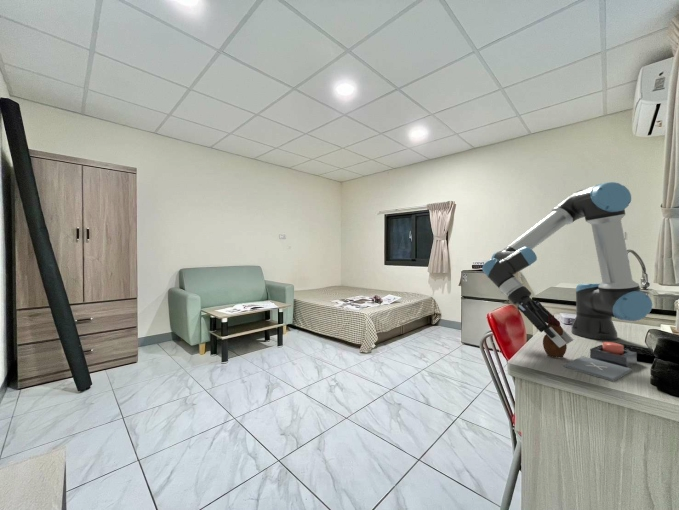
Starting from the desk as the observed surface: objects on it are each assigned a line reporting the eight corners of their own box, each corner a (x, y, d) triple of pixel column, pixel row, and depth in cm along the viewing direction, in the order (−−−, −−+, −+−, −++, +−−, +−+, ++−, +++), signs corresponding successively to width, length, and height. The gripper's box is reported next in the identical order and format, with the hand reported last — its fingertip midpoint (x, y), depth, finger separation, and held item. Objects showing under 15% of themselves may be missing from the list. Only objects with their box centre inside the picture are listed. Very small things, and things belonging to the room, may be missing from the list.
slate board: (582, 358, 96) (582, 356, 96) (631, 371, 86) (631, 368, 86) (563, 366, 89) (563, 363, 89) (613, 381, 79) (613, 378, 79)
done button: (606, 349, 97) (606, 341, 97) (626, 354, 93) (626, 345, 93) (600, 352, 95) (600, 343, 95) (620, 356, 90) (620, 347, 90)
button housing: (601, 354, 100) (601, 344, 100) (636, 362, 92) (636, 352, 92) (590, 359, 96) (590, 349, 96) (626, 368, 88) (626, 357, 88)
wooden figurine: (539, 352, 102) (539, 312, 102) (555, 352, 102) (555, 312, 102) (553, 359, 95) (553, 316, 95) (570, 359, 95) (570, 316, 95)
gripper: (519, 295, 116) (567, 344, 103) (496, 299, 106) (546, 354, 92) (533, 283, 112) (585, 333, 98) (510, 287, 102) (565, 343, 88)
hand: (566, 343), depth 95 cm, fingers closed on wooden figurine, 6 cm apart
